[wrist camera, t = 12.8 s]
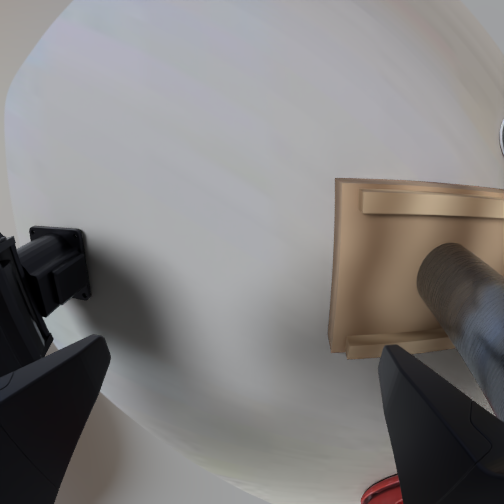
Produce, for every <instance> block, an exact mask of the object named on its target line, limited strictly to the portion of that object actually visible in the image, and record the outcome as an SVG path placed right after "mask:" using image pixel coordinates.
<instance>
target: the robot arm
mask: <svg viewBox="0 0 504 504" xmlns="http://www.w3.org/2000/svg"><path fill="white" fill-rule="evenodd" d="M29 232H30V239H31V242H29V243H27V244H25V245H24V246H22V247H20V248H18V249H16V246H15V243H16V242H15V239H14V236H12V237H8V238H6V237H5V236H3V235H2V234H1V233H0V504H54V502H55V499H56V496H57V494H58V491H59V488H60V485H61V482H62V480H63V477H64V475H65V472H66V469H67V467H68V464H69V462H70V459H71V457H72V454H73V452H74V450H75V447H76V445H77V442H78V440H79V438H80V435H81V433H82V431H83V428H84V426H85V423H86V422H87V419H88V417H89V415H90V412H91V410H92V408H93V406H94V404H95V402H96V399H97V397H98V395H99V392H100V389H101V386H102V383H103V380H104V378H105V375H106V372H107V369H108V366H109V364H110V360H111V355H110V352H109V349H108V346H107V343H106V341H105V338H104V337H103V336H101V335H94V334H93V335H90V336H88V337H86V338H84V339H82V340H80V341H77V342H75V343H73V344H71V345H69V346H67V347H65V348H63V349H60V350H58V351H56V352H54V353H52V354H50V355H48V356H46V357H45V355H46V352H47V351H48V349H49V347H50V345H51V343H52V341H53V337H52V335H51V333H49V331H48V329H47V326H46V324H45V322H44V320H43V318H42V317H47V316H49V315H50V314H51V313H52V312H53V311H54V310H55V309H56V308H58V307H59V306H60V305H63V304H64V303H66V302H67V301H68V300H69V299H70V298H71V297H72V298H77V299H81V300H88V299H89V298H90V297H91V291H90V286H89V280H88V274H87V268H86V262H85V255H84V248H83V240H82V233H81V231H80V230H79V229H72V228H58V227H43V226H33V227H31V228H30V230H29ZM75 234H76V235H77V237H76V235H75ZM85 294H86V295H87V296H86V295H85ZM378 372H379V379H380V386H381V393H382V401H383V409H384V415H385V419H386V424H387V428H388V432H389V436H390V440H391V445H392V449H393V454H394V458H395V463H396V468H397V473H398V478H399V483H400V488H401V494H402V500H403V504H504V422H503V421H502V420H500V419H499V418H497V417H495V416H494V415H492V414H491V413H490V412H488V411H487V410H485V409H484V408H483V407H481V406H480V405H479V404H477V403H476V402H475V401H472V399H470V398H469V397H468V396H466V395H465V394H464V393H462V392H461V391H460V390H458V389H457V388H456V387H454V386H453V385H452V384H450V383H449V382H448V381H446V380H445V379H444V378H442V377H441V376H440V375H438V374H437V373H436V372H434V371H433V370H432V369H430V368H429V367H428V366H426V365H425V364H423V363H422V362H421V361H419V360H418V359H417V358H415V357H414V356H413V355H411V354H410V353H409V352H407V351H406V350H405V349H403V348H402V347H400V346H399V345H397V344H390V345H385V346H384V347H383V350H382V354H381V358H380V362H379V367H378Z"/></svg>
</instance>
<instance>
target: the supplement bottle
mask: <svg viewBox="0 0 504 504" xmlns="http://www.w3.org/2000/svg"><path fill="white" fill-rule="evenodd" d="M500 145H501V149H502V152H503V155H504V119H503V121H502V124H501V128H500Z"/></svg>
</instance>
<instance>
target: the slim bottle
mask: <svg viewBox="0 0 504 504" xmlns="http://www.w3.org/2000/svg"><path fill="white" fill-rule="evenodd" d="M417 290H418V293H419V295H420V297H421V298H422V300H423V301H424V303H425V304H426V305H427V307H428V308H429V309H430V311H431V312H432V314H433V315H434V317H435V318H436V319H437V321H438V322H439V324H440V325H441V327H442V328H443V329H444V331H445V332H446V334H447V335H448V337H449V338H450V340H451V341H452V343H453V344H454V346H455V347H456V349H457V351H458V352H459V354H460V355H461V357H462V358H463V360H464V362H465V363H466V365H467V366H468V368H469V370H470V371H471V373H472V375H473V376H474V378H475V380H476V381H477V383H478V385H479V386H480V388H481V390H482V392H483V393H484V395H485V397H486V399H487V400H488V402H489V404H490V406H491V408H492V410H493V411H494V413H495V415H496V417H497V418H499V419H500V420H502V421H503V422H504V277H503V276H502V275H501V274H499V273H498V272H497V271H496V270H494V269H493V268H492V267H490V266H489V265H488V264H487V263H485V262H484V261H483V260H481V259H480V258H479V257H477V256H476V255H475V254H473V253H472V252H471V251H469V250H468V249H466V248H465V247H464V246H462V245H460V244H458V243H453V242H451V243H445V244H442V245H440V246H438V247H436V248H435V249H433V250H432V251H431V252H430V253H429V254H428V255H427V256H426V257H425V259H424V260H423V262H422V264H421V266H420V268H419V271H418V275H417Z"/></svg>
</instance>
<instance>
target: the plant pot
mask: <svg viewBox="0 0 504 504" xmlns="http://www.w3.org/2000/svg"><path fill="white" fill-rule="evenodd" d="M361 504H403V500H402V494H401V488H400V483H399V478H398V475H395V476H392V477H390V478H387V479H385V480H383V481H381V482H379V483H377V484H374V485H373V486H372V487H371V488H369V489H368V490H367V491H366V492H365V493H364V494H363V496H362V498H361Z"/></svg>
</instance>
